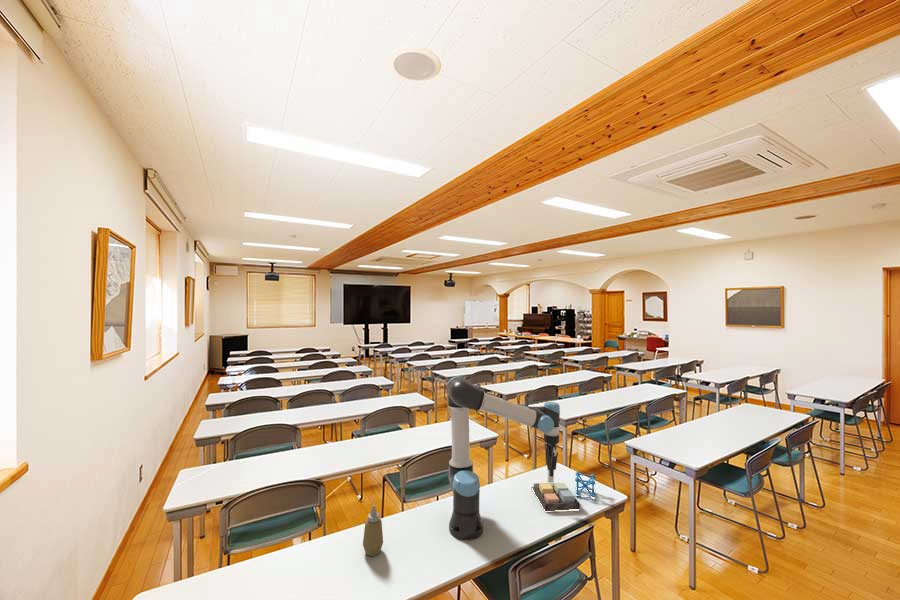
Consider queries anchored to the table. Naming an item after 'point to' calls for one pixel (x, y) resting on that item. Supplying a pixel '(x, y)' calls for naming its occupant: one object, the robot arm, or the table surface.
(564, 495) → the slate key
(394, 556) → the table surface
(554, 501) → the terracotta key
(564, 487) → the sage key
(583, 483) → the molecular structure
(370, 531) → the squeeze bottle
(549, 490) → the mustard key
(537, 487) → the keypad
